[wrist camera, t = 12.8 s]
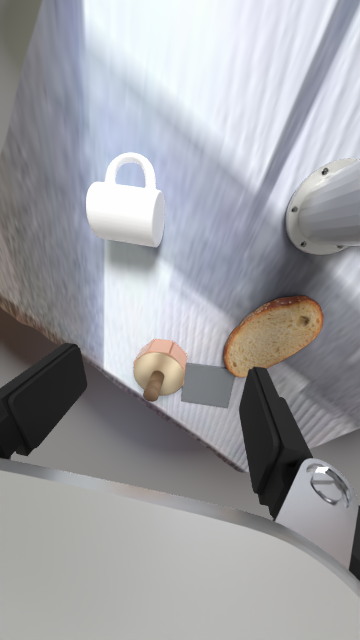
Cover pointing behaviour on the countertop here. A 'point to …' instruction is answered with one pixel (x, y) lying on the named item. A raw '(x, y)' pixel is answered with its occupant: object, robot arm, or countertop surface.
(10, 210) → the countertop surface
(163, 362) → the lid
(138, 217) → the mug
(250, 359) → the bread slice
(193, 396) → the mat
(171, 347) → the bowl
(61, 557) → the robot arm
